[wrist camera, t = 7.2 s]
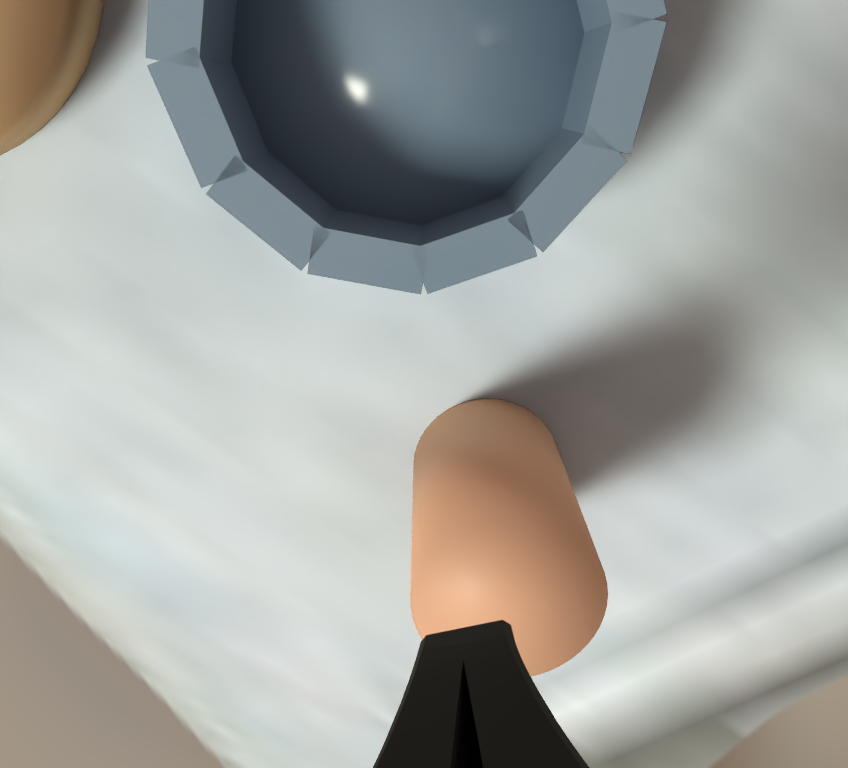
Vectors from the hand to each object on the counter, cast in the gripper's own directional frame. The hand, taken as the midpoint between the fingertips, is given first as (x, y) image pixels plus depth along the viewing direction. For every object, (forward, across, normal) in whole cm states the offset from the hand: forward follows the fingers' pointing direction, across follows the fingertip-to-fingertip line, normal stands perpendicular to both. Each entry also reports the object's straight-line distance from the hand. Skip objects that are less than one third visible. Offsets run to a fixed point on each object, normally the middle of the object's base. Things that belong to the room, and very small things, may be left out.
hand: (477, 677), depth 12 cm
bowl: (+9, -1, -10) cm, 13 cm away
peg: (+10, -1, +1) cm, 10 cm away
